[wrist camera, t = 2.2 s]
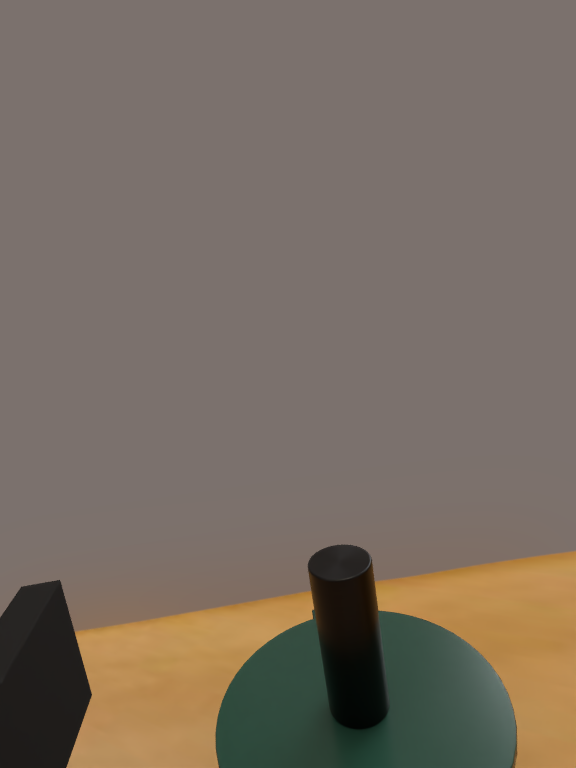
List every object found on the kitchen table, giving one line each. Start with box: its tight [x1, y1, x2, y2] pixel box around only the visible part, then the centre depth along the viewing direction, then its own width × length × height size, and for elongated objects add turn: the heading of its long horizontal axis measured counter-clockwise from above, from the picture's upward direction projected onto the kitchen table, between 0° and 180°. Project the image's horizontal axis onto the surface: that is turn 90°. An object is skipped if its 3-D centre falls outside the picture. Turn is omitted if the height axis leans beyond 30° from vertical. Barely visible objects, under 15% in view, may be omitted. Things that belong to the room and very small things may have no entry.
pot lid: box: [216, 545, 517, 768], centre depth 23 cm, size 13×13×8 cm
